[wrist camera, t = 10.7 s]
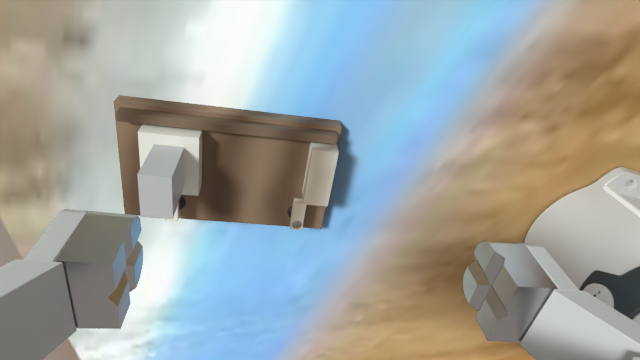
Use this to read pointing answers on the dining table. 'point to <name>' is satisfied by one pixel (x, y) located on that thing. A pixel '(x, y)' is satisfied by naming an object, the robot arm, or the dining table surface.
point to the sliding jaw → (168, 169)
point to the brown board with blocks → (240, 161)
